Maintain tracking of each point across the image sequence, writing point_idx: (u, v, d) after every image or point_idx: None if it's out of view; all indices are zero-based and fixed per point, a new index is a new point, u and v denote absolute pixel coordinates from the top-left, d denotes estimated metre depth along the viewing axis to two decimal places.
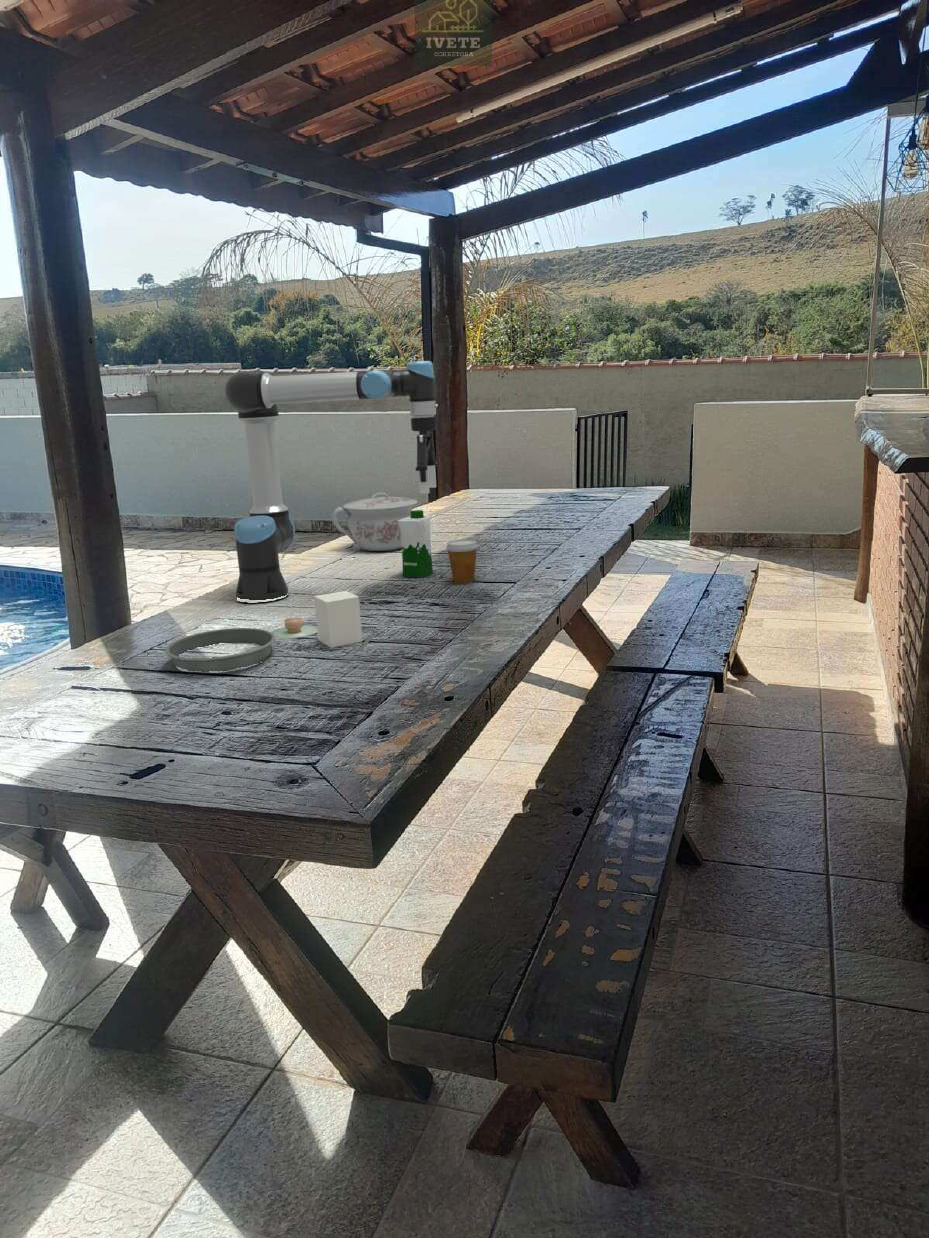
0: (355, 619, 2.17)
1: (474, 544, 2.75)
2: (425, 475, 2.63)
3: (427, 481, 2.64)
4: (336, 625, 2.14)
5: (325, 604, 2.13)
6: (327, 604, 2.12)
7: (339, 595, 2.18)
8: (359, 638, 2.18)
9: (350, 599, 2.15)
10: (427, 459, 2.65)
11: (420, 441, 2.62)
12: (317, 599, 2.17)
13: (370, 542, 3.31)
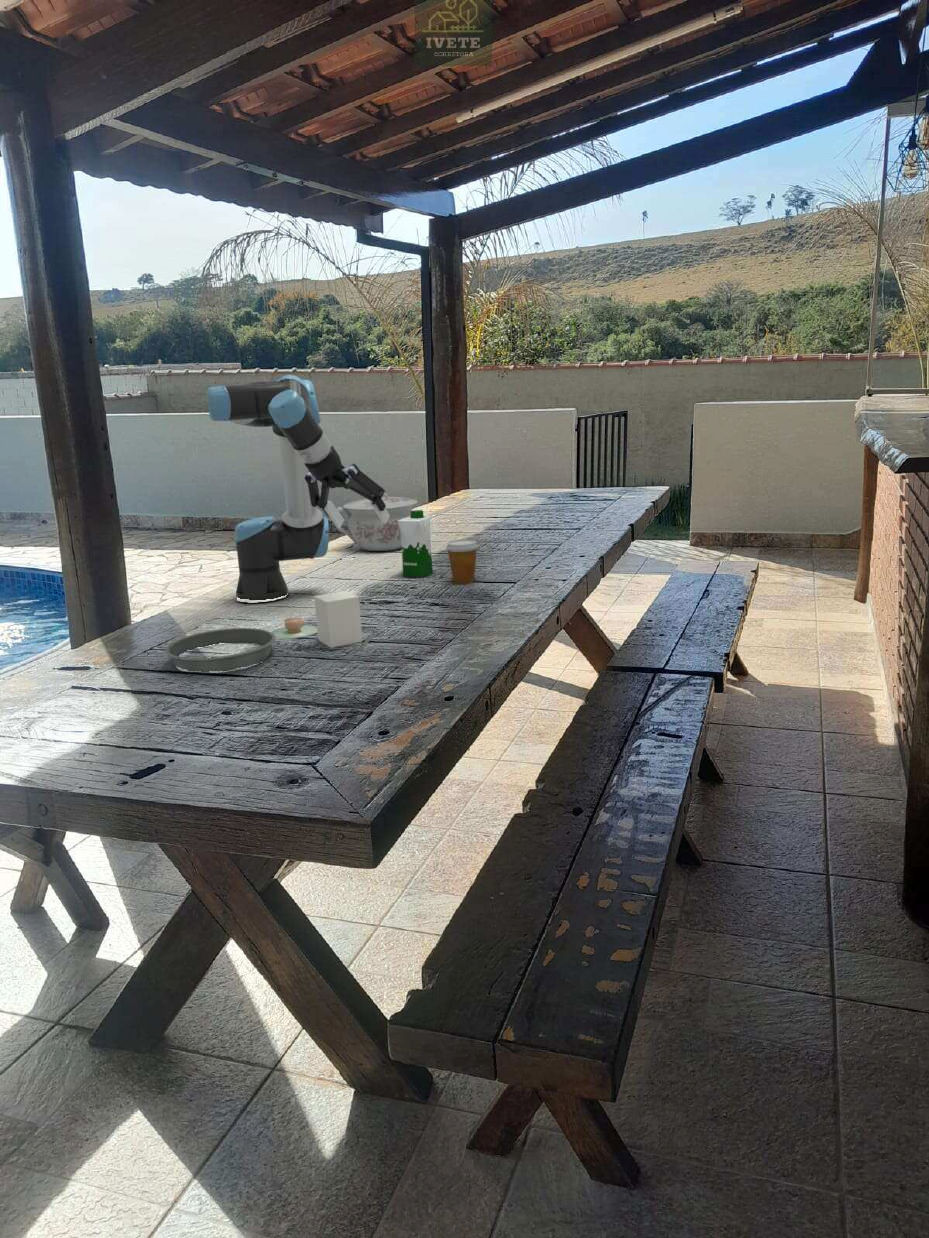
0: (355, 619, 2.17)
1: (474, 544, 2.75)
2: (325, 511, 2.20)
3: None
4: (336, 625, 2.14)
5: (325, 604, 2.13)
6: (327, 604, 2.12)
7: (339, 595, 2.18)
8: (359, 638, 2.18)
9: (350, 599, 2.15)
10: (323, 498, 2.16)
11: None
12: (317, 599, 2.17)
13: (370, 542, 3.31)
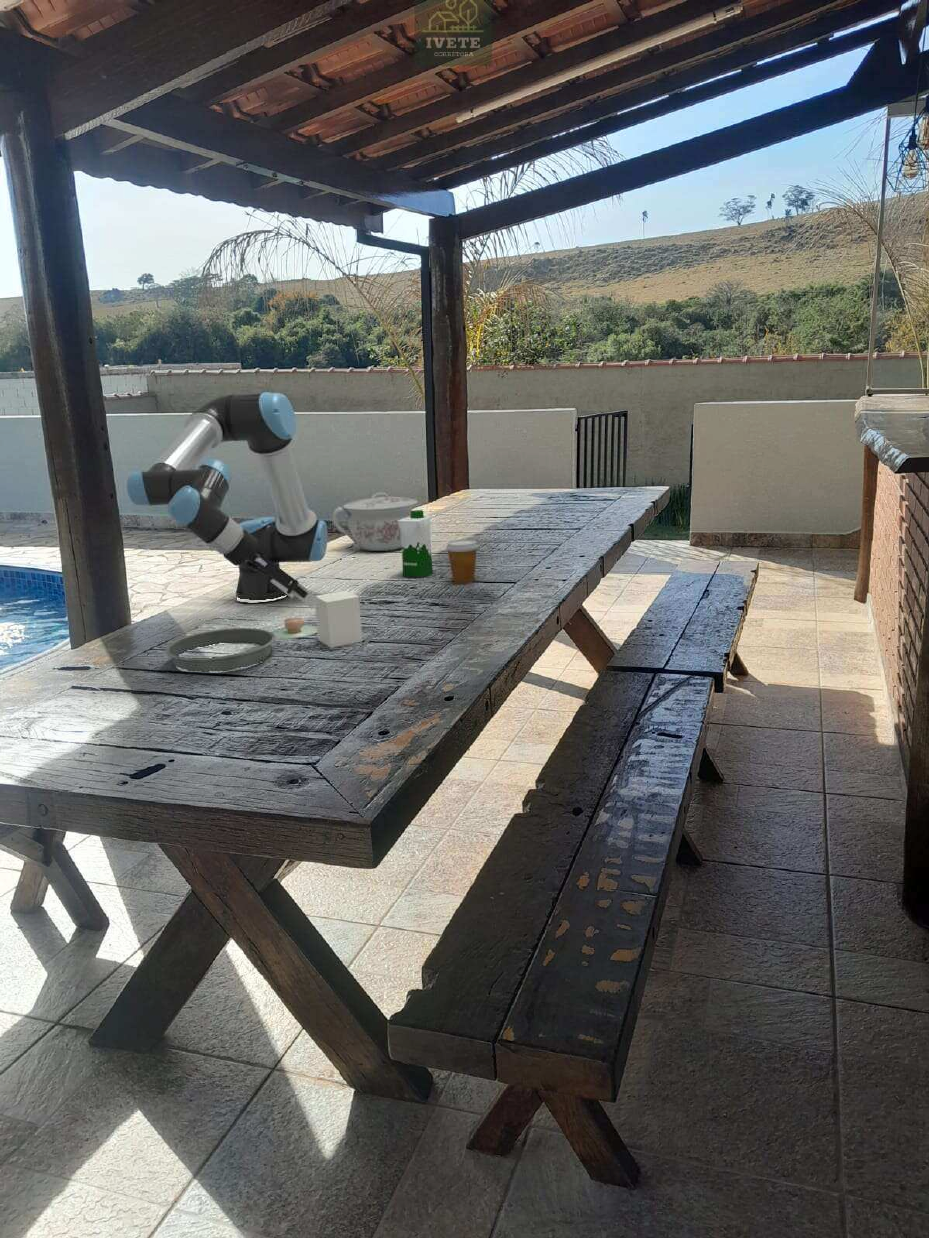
0: (355, 619, 2.17)
1: (474, 544, 2.75)
2: None
3: None
4: (336, 625, 2.14)
5: (325, 604, 2.13)
6: (327, 604, 2.12)
7: (339, 595, 2.18)
8: (359, 638, 2.18)
9: (350, 599, 2.15)
10: (263, 574, 2.13)
11: None
12: None
13: (370, 542, 3.31)
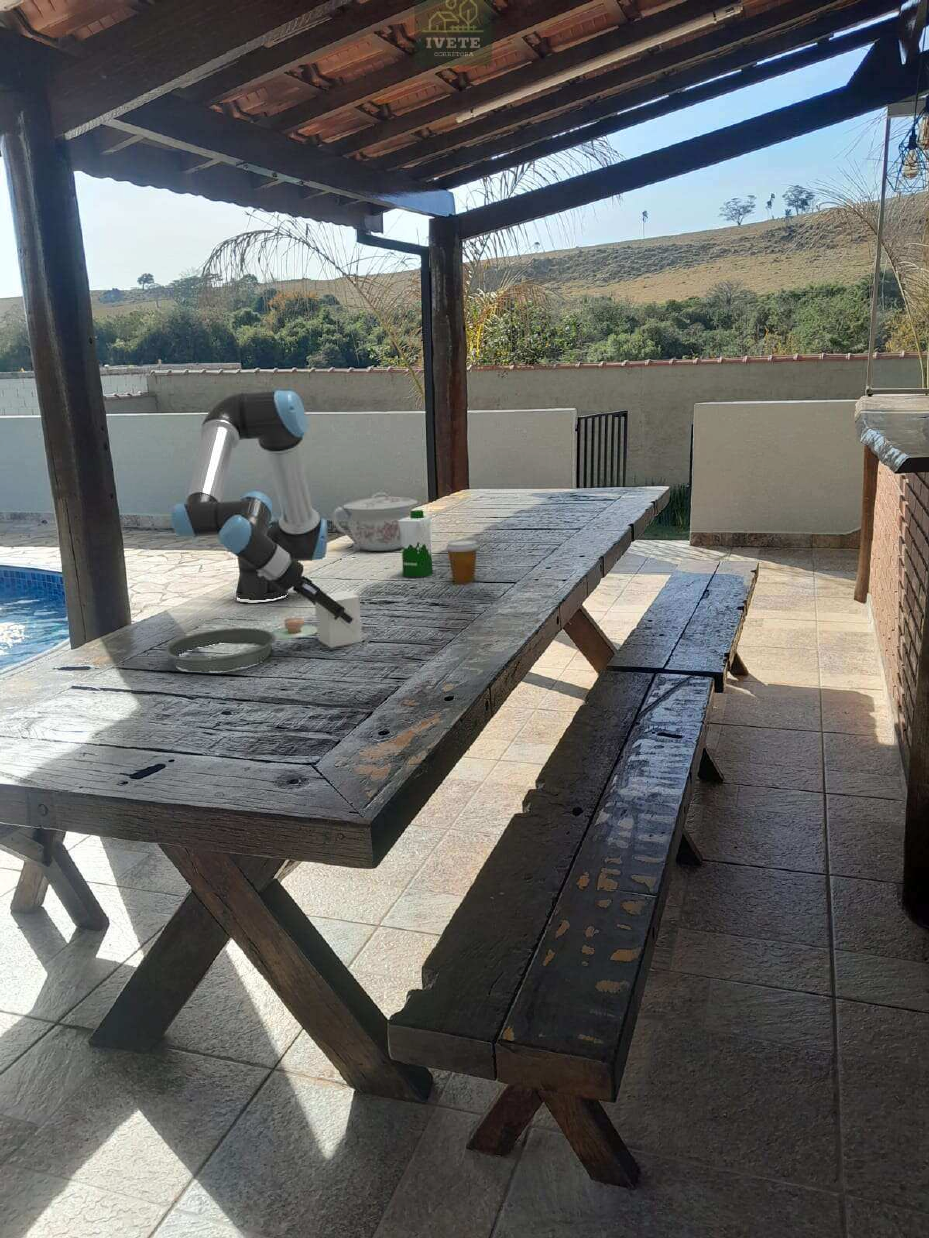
0: None
1: (474, 544, 2.75)
2: None
3: None
4: (336, 625, 2.14)
5: None
6: None
7: (339, 595, 2.18)
8: (359, 638, 2.18)
9: (350, 599, 2.15)
10: (312, 601, 2.19)
11: None
12: None
13: (370, 542, 3.31)
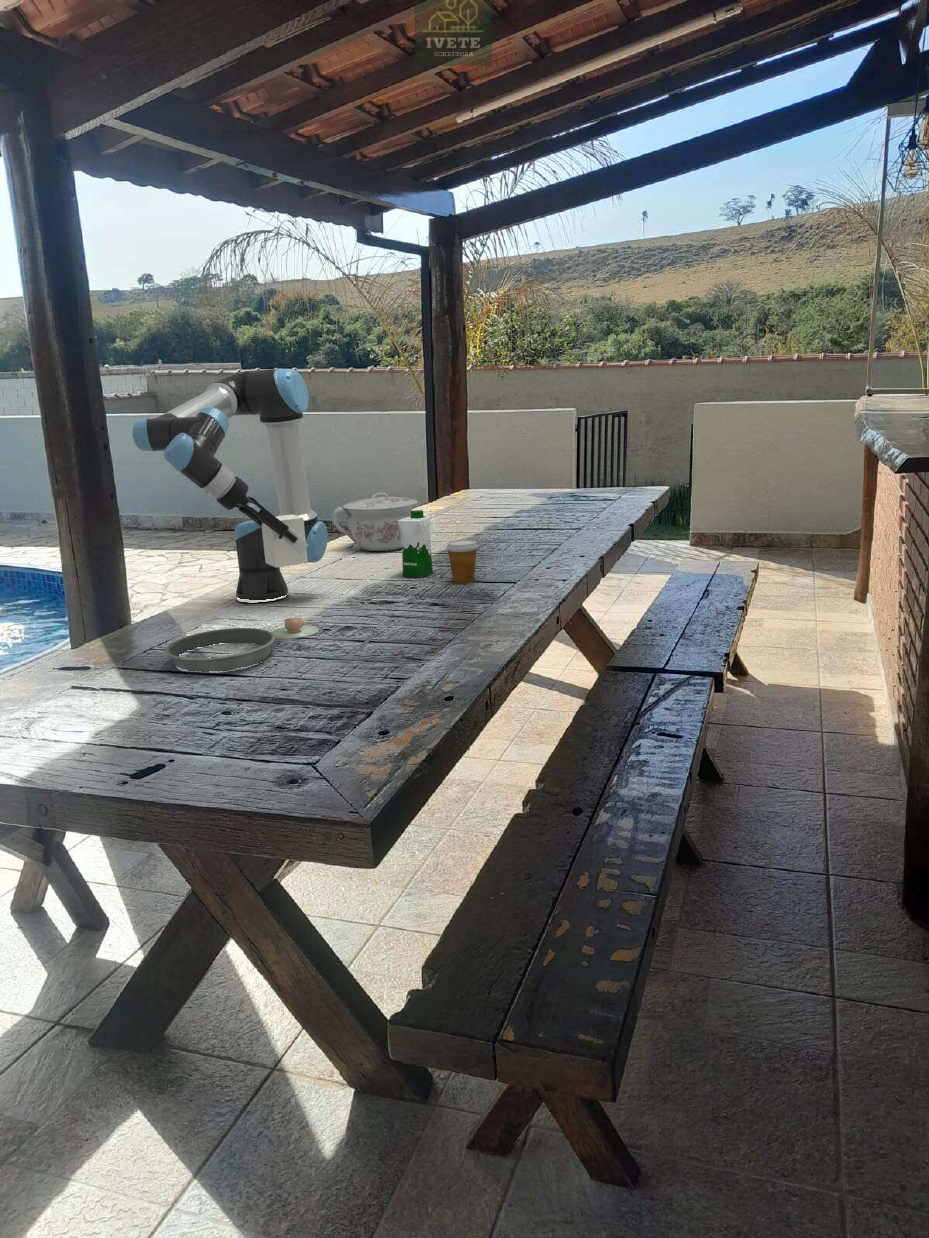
0: None
1: (474, 544, 2.75)
2: None
3: None
4: (280, 544, 2.20)
5: None
6: None
7: (285, 517, 2.24)
8: (304, 559, 2.24)
9: (295, 520, 2.21)
10: (259, 523, 2.25)
11: None
12: None
13: (370, 542, 3.31)
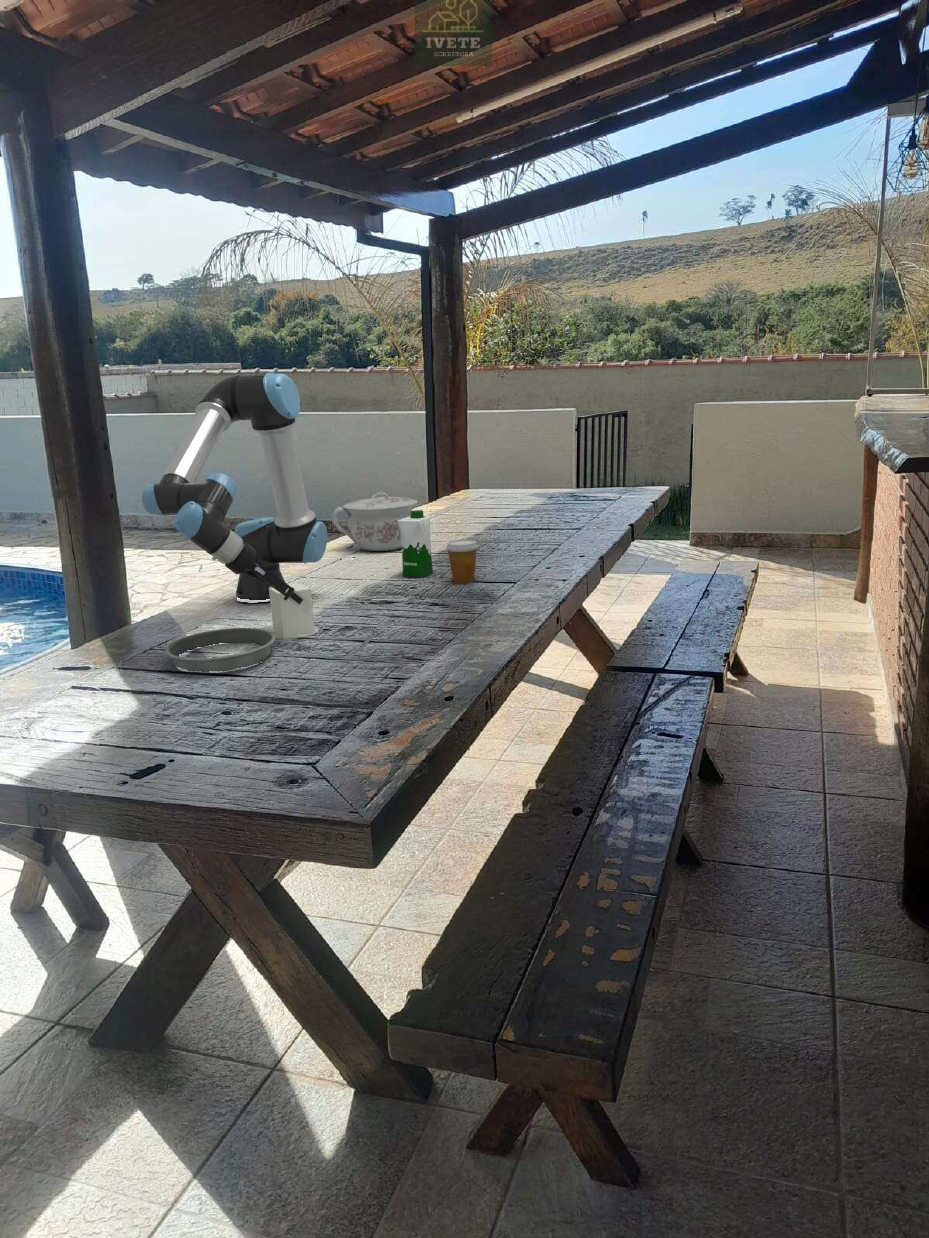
0: None
1: (474, 544, 2.75)
2: None
3: None
4: (288, 615, 2.25)
5: (278, 596, 2.23)
6: (279, 596, 2.23)
7: None
8: (311, 628, 2.29)
9: (302, 591, 2.25)
10: None
11: None
12: (271, 591, 2.27)
13: (370, 542, 3.31)
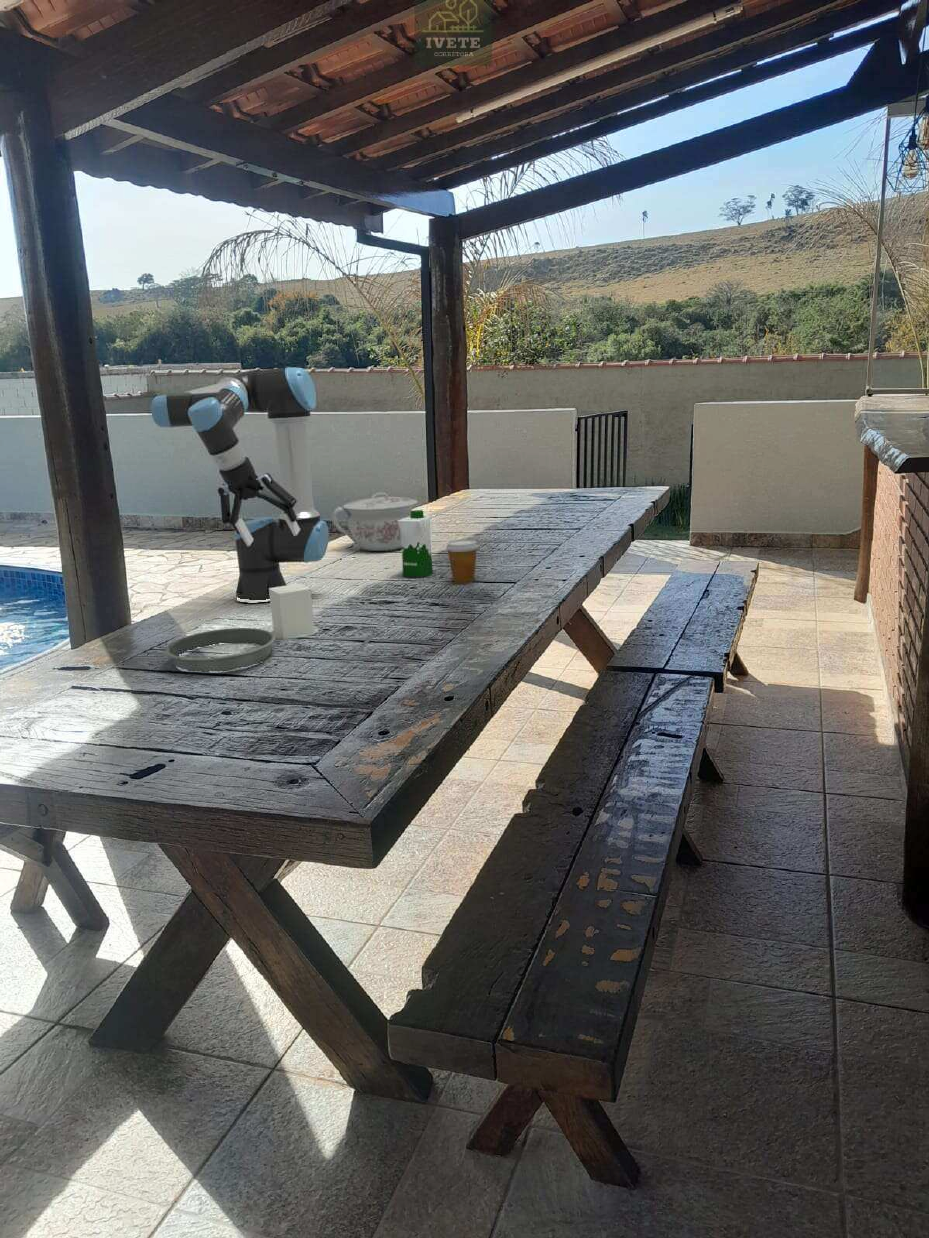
0: (307, 610, 2.27)
1: (474, 544, 2.75)
2: (236, 528, 2.27)
3: None
4: (288, 615, 2.25)
5: (278, 596, 2.23)
6: (279, 596, 2.23)
7: (292, 587, 2.29)
8: (311, 628, 2.29)
9: (302, 591, 2.25)
10: (235, 512, 2.24)
11: None
12: (271, 591, 2.27)
13: (370, 542, 3.31)
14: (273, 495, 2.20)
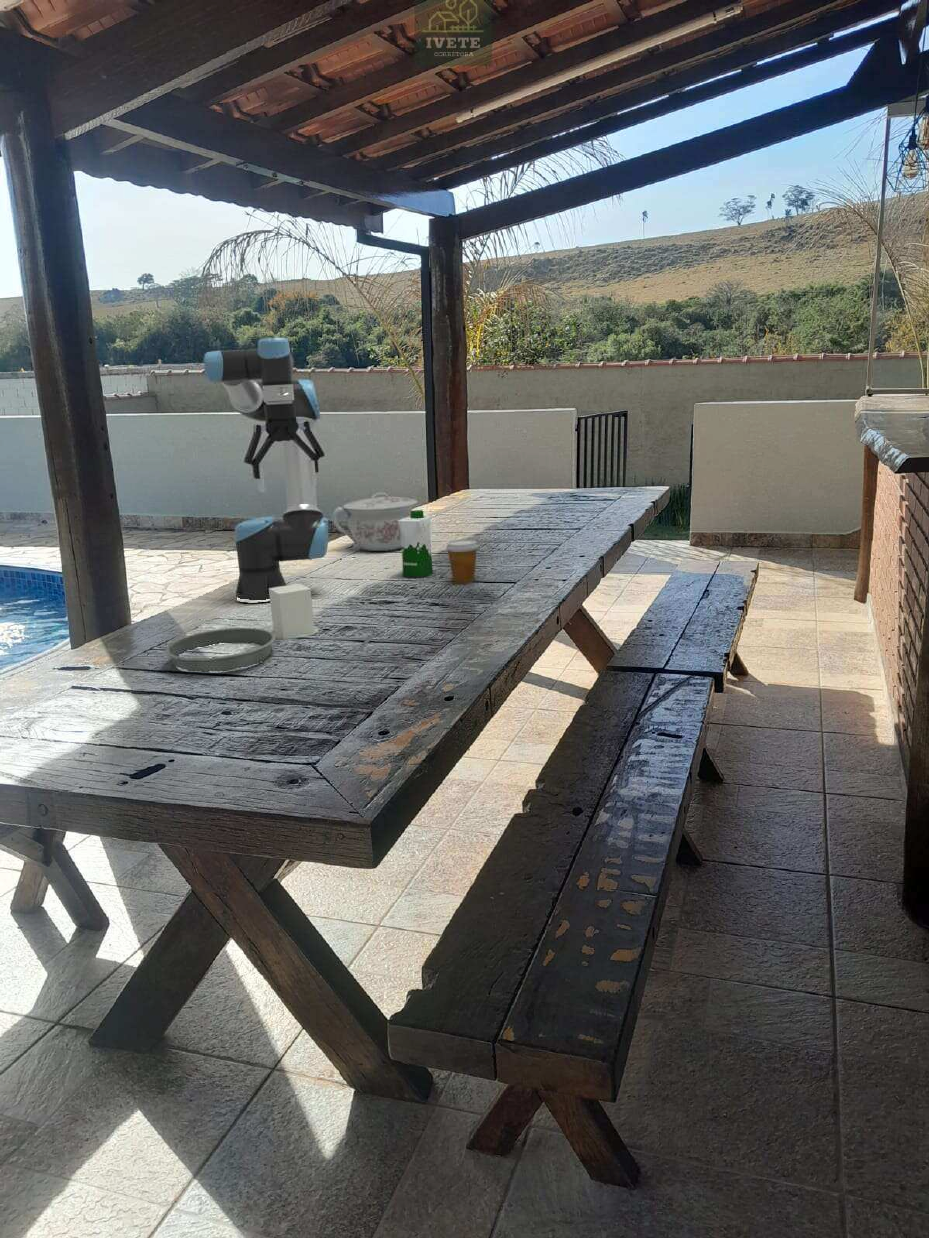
0: (307, 610, 2.27)
1: (474, 544, 2.75)
2: (256, 471, 2.29)
3: (260, 478, 2.30)
4: (288, 615, 2.25)
5: (278, 596, 2.23)
6: (279, 596, 2.23)
7: (292, 587, 2.29)
8: (311, 628, 2.29)
9: (302, 591, 2.25)
10: (264, 453, 2.29)
11: (254, 432, 2.28)
12: (271, 591, 2.27)
13: (370, 542, 3.31)
14: None
